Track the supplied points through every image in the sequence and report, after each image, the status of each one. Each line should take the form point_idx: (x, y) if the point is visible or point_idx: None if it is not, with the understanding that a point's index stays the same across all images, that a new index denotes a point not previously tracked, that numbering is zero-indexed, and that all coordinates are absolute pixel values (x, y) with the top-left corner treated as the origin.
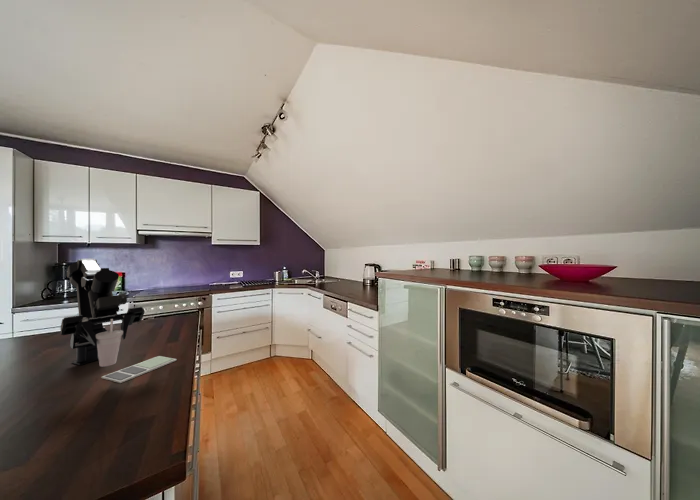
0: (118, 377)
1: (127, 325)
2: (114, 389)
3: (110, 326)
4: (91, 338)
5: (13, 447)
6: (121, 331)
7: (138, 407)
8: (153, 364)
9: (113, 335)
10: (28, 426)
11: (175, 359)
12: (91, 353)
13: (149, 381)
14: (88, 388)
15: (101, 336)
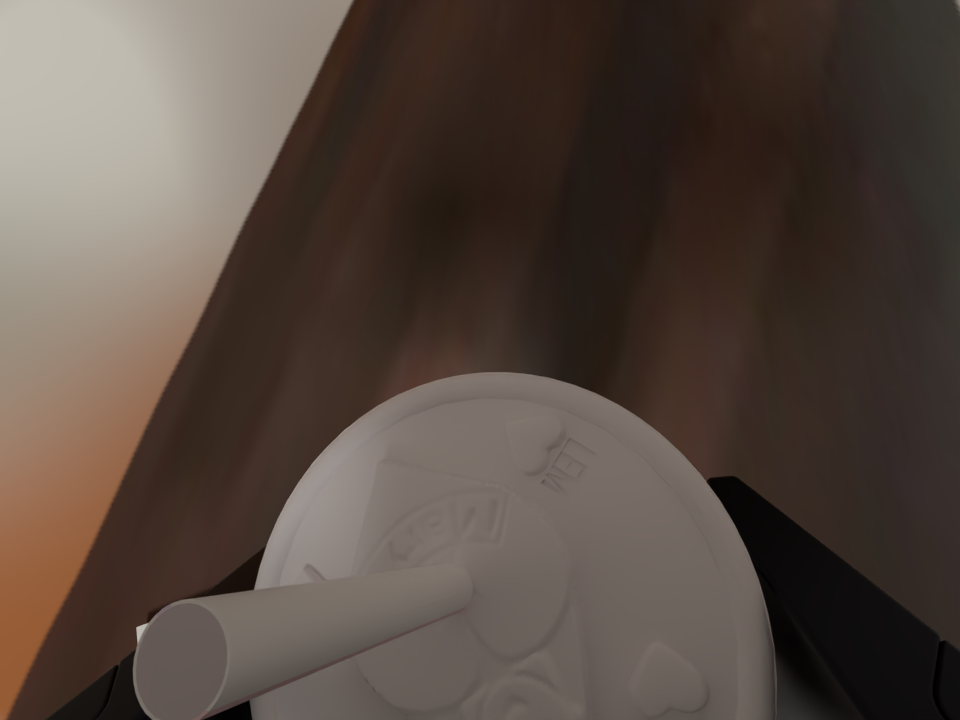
0: None
1: (67, 712)
2: None
3: (407, 599)
4: (832, 552)
5: (952, 56)
6: (282, 581)
7: (499, 76)
8: None
9: (449, 398)
10: (954, 231)
11: (144, 627)
12: None
13: (386, 357)
14: None
15: (642, 433)
